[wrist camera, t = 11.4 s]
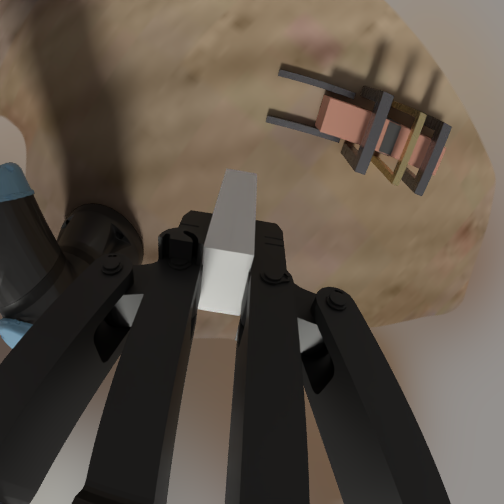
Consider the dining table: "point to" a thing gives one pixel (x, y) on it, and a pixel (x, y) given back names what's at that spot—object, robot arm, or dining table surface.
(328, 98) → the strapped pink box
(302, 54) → the dining table surface
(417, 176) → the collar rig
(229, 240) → the robot arm
